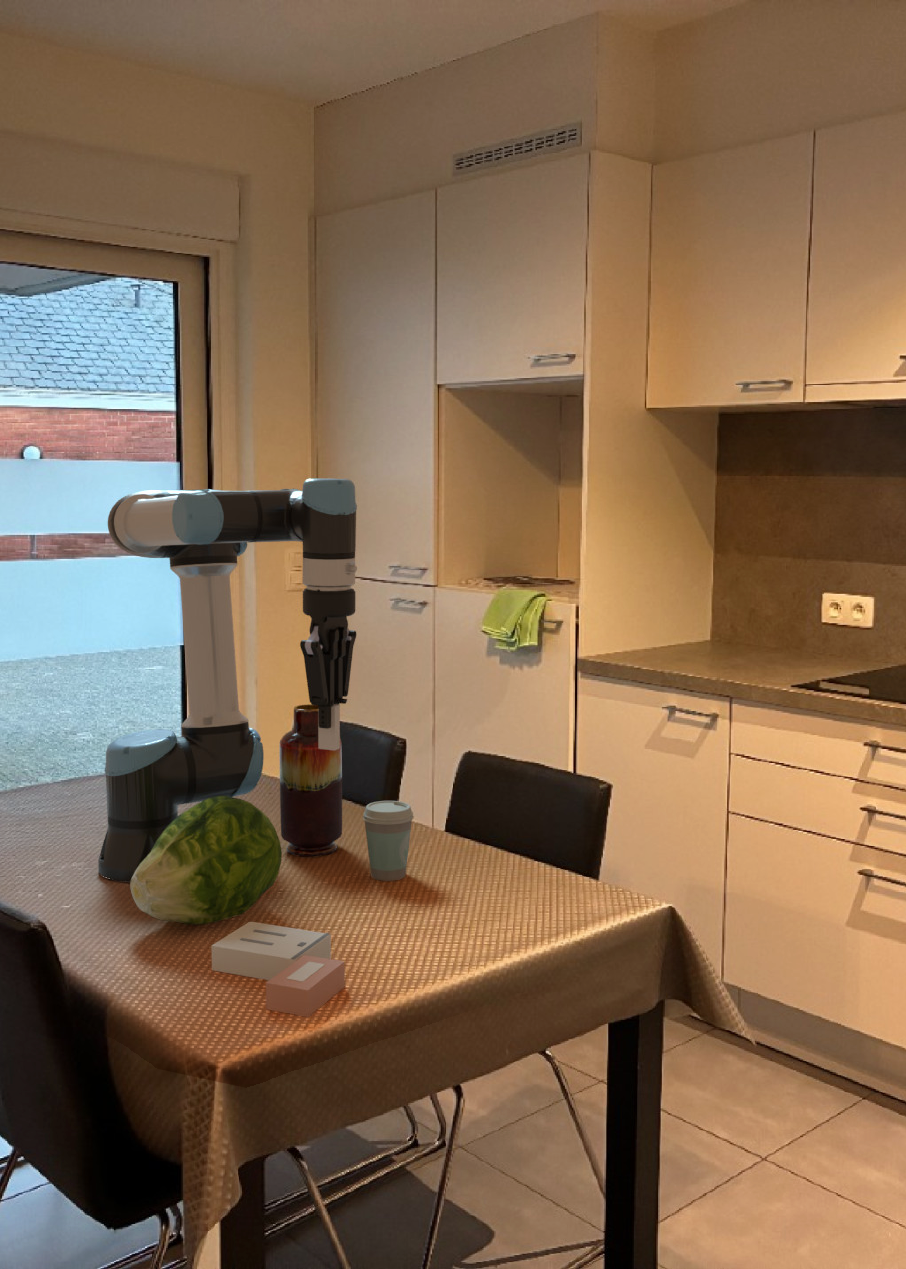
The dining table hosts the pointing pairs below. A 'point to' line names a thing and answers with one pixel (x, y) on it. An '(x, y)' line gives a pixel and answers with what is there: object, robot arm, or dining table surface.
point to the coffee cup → (388, 838)
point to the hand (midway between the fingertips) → (329, 748)
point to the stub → (305, 985)
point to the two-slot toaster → (266, 949)
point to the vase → (309, 788)
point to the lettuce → (209, 863)
